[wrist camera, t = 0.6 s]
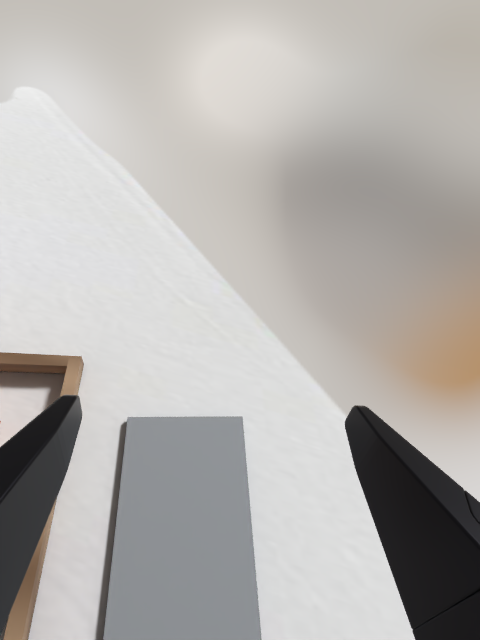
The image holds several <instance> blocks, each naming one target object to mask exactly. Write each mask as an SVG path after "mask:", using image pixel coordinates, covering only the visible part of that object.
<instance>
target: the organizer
mask: <svg viewBox="0 0 480 640" xmlns="http://www.w3.org/2000/svg"><path fill="white" fill-rule="evenodd" d="M83 366H84V364H83V360H82V357H81V356H61V355H41V354H21V353H1V352H0V371H5V372H35V373H64V374H65V377H64V382H63V386H62V390H61V394H60V397H61V396H63V395H78V390H79V385H80V380H81V375H82V371H83ZM56 499H57V498H56ZM55 504H56V500H55V503H54V505H53V508H52V510H51V513H50V515H49V517H48V520H47V522H46V525H45V527H44V530H43V532H42V535H41V537H40V540H39V542H38V545H37V547H36V550H35V552H34V555H33V557H32V559H31V562H30V564H29V567H28V569H27V572H26V574H25V577H24V579H23V582H22V584H21V587H20V589H19V592H18V594H17V597H16V599H15V601H14V604H13V606H12V609H11V611H10V614H9V618H8V622H7V626H6V630H5V635H4V639H3V640H28V637H29V632H30V627H31V622H32V617H33V612H34V607H35V602H36V597H37V593H38V588H39V583H40V578H41V573H42V568H43V563H44V558H45V553H46V548H47V543H48V538H49V533H50V528H51V523H52V519H53V514H54V509H55Z"/></svg>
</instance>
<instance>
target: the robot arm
mask: <svg viewBox="0 0 480 640" xmlns="http://www.w3.org/2000/svg"><path fill="white" fill-rule="evenodd" d="M81 420H82V410H81V404H80V398H79V396H78V395H63V396H61V397H60V398H59V399H57V400H56V401H55V402H54V403H53V404H51V405H50V406H49V407H48V408H47V409H45V410H44V411H43V412H42V413H41V414H39V415H38V416H37V417H36V418H35V419H33V420H32V421H31V422H30V423H29V424H27V425H26V426H25V427H24V428H23V429H21V430H20V431H19V432H18V433H17V434H16V435H14V436H13V437H12V438H11V439H10V440H8V441H7V442H6V443H5V444H4V445H2V446H1V447H0V636H1V634H2V631H3V629H4V626H5V624H6V621H7V619H8V616H9V614H10V611H11V609H12V606H13V604H14V601H15V599H16V597H17V594H18V592H19V589H20V587H21V584H22V582H23V579H24V577H25V574H26V572H27V569H28V567H29V564H30V562H31V559H32V557H33V555H34V552H35V550H36V547H37V545H38V542H39V540H40V537H41V535H42V532H43V530H44V527H45V525H46V522H47V520H48V517H49V515H50V513H51V510H52V508H53V505H54V503H55V500H56V498H57V495H58V493H59V490H60V488H61V485H62V483H63V480H64V478H65V475H66V472H67V470H68V466H69V463H70V459H71V456H72V452H73V449H74V445H75V441H76V438H77V434H78V431H79V427H80V424H81ZM345 429H346V433H347V437H348V441H349V445H350V449H351V453H352V457H353V461H354V465H355V468H356V472H357V475H358V478H359V481H360V483H361V486H362V489H363V492H364V495H365V498H366V500H367V503H368V506H369V509H370V512H371V515H372V517H373V520H374V523H375V526H376V529H377V532H378V534H379V537H380V540H381V543H382V546H383V548H384V551H385V554H386V557H387V560H388V563H389V565H390V568H391V571H392V574H393V577H394V580H395V582H396V585H397V588H398V591H399V594H400V597H401V599H402V602H403V605H404V608H405V611H406V614H407V616H408V619H409V622H410V625H411V628H412V629H413V634H414V637H415V640H480V502H478V501H477V500H476V499H475V498H474V497H473V496H471V495H470V494H469V493H468V492H467V491H464V489H463V488H462V487H461V486H460V485H458V484H457V483H456V482H455V481H454V480H453V479H451V478H450V477H449V476H448V475H447V474H445V473H444V472H443V471H442V470H441V469H440V468H438V467H437V466H436V465H435V464H434V463H432V462H431V461H430V460H429V459H428V458H427V457H425V456H424V455H423V454H422V453H421V452H420V451H418V450H417V449H416V448H415V447H414V446H412V445H411V444H410V443H409V442H408V441H407V440H405V439H404V438H403V437H402V436H401V435H399V434H398V433H397V432H396V431H395V430H394V429H392V428H391V427H390V426H389V425H388V424H386V423H385V422H384V421H383V420H382V419H381V418H379V417H378V416H377V415H376V414H374V413H373V412H372V411H371V410H370V409H369V408H367V407H365V406H354V407H353V408H352V409H351V411H350V413H349V415H348V416H347V418H346V420H345Z"/></svg>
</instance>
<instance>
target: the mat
mask: <svg viewBox="0 0 480 640" xmlns="http://www.w3.org/2000/svg"><path fill="white" fill-rule="evenodd" d="M103 640H261V629H260V617H259V606H258V594H257V582H256V570H255V559H254V547H253V535H252V524H251V512H250V500H249V488H248V477H247V465H246V453H245V441H244V430H243V418H242V417H128V419H127V428H126V437H125V446H124V455H123V464H122V473H121V483H120V492H119V501H118V510H117V519H116V528H115V537H114V546H113V555H112V565H111V574H110V583H109V592H108V601H107V610H106V619H105V628H104V637H103Z"/></svg>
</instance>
